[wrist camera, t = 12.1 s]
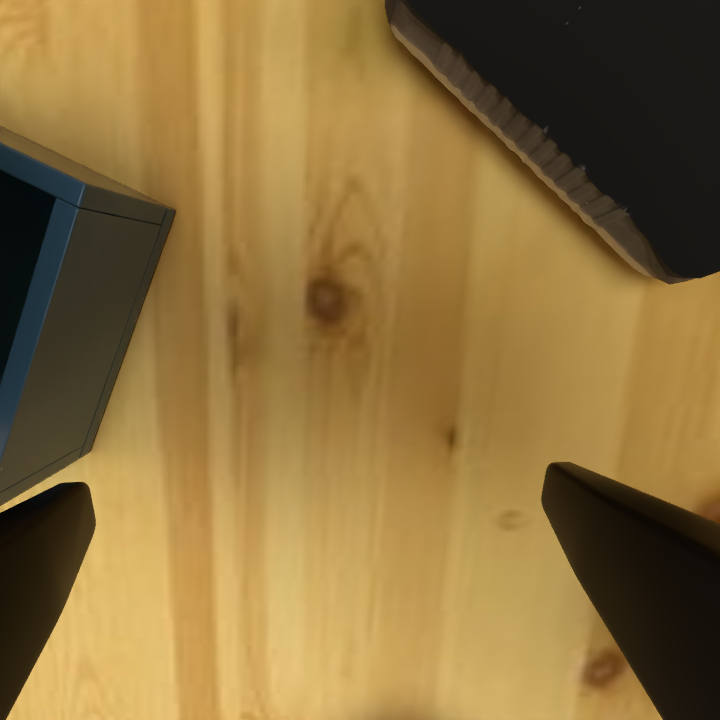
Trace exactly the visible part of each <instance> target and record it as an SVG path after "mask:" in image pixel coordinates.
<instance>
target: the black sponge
mask: <svg viewBox="0 0 720 720" xmlns="http://www.w3.org/2000/svg"><path fill="white" fill-rule="evenodd" d="M385 9H386V14H387V18H388V22H389V25H390V27H391V29H392V32H393V34H394V36H395V38H397V39H398V40H399V41H400V42H402V43H403V44H404V45H405V46H406V48H407V49H408V50H409V52H410V53H412V54H413V55H414V56H415V57H416V58H417V59H418V60H420V61H421V62H422V63H423V64H424V65H425V66H426V67H427V68H428V69H429V70H430V71H431V72H432V74H433V75H434V76H435V77H436V78H437V79H438V80H439V81H440V82H441V83H442V84H443V85H444V86H445V87H446V88H447V89H448V90H449V91H450V92H452V93H453V94H454V95H455V96H456V97H457V98H458V99H459V100H460V102H461V103H462V104H463V105H465V106H466V107H467V108H468V109H469V111H470V112H472V113H473V114H475V115H476V116H477V117H478V118H479V119H480V120H481V122H482V123H483V124H484V125H486V126H487V127H488V128H489V129H491V130H492V131H493V132H494V133H495V134H496V135H497V137H498V138H499V139H501V140H502V141H504V143H505V144H506V145H507V147H508V148H509V149H510V150H511V151H513V152H515V153H516V154H517V155H518V156H519V157H520V158H521V160H522V162H523V163H525V164H527V165H528V166H529V167H530V168H531V169H532V170H533V172H534V173H535V175H537V176H538V177H539V178H540V179H541V180H542V181H543V182H544V183H545V184H546V185H547V186H548V187H549V188H551V189H552V190H553V191H555V192H556V193H557V194H558V196H559V198H561V199H562V200H563V201H564V202H566V203H567V204H568V205H569V206H570V207H571V209H572V211H574V212H576V213H577V214H578V215H579V216H580V217H581V218H582V220H583V222H584V223H586V224H588V225H589V226H591V227H592V228H594V229H595V231H596V232H597V233H598V234H599V235H600V236H601V237H602V238H603V239H604V240H605V241H606V242H607V243H608V244H609V245H610V246H611V247H612V248H613V249H614V250H615V251H616V252H617V254H618V255H619V256H621V257H622V258H623V259H624V260H625V261H626V262H627V263H628V264H629V265H630V266H631V267H633V268H634V269H635V270H637V271H638V272H640V273H641V274H643V275H644V276H649V277H653V278H656V279H659V280H661V281H664V282H666V283H668V284H675V283H679V282H684V281H688V280H691V279H694V278H702V277H705V276H708V275H711V274H713V273H716V272H719V271H720V0H385Z"/></svg>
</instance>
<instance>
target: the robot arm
mask: <svg viewBox="0 0 720 720" xmlns="http://www.w3.org/2000/svg"><path fill="white" fill-rule="evenodd" d="M541 500H542V506H543V509H544V511H545V513H546V515H547V517H548V519H549V522H550V524H551V526H552V528H553V530H554V532H555V534H556V536H557V538H558V540H559V542H560V544H561V547H562V549H563V551H564V553H565V555H566V557H567V559H568V561H569V563H570V565H571V567H572V569H573V571H574V573H575V575H576V577H577V578H578V580H579V582H580V583H581V585H582V587H583V589H584V590H585V592H586V594H587V595H588V597H589V599H590V600H591V602H592V603H593V605H594V607H595V608H596V610H597V612H598V613H599V615H600V617H601V618H602V620H603V622H604V623H605V625H606V627H607V628H608V630H609V632H610V633H611V635H612V636H613V638H614V640H615V641H616V643H617V645H618V646H619V648H620V650H621V651H622V653H623V655H624V656H625V658H626V660H627V661H628V663H629V665H630V666H631V668H632V669H633V671H634V673H635V674H636V676H637V678H638V679H639V681H640V683H641V684H642V686H643V688H644V689H645V691H646V693H647V694H648V696H649V698H650V699H651V701H652V702H653V704H654V706H655V707H656V709H657V711H658V712H659V714H660V716H661V717H662V719H663V720H720V524H719V523H717V522H714V521H712V520H709V519H707V518H705V517H702V516H700V515H697V514H695V513H692V512H690V511H688V510H685V509H683V508H680V507H678V506H675V505H673V504H671V503H668V502H666V501H663V500H661V499H658V498H656V497H654V496H651V495H649V494H646V493H644V492H641V491H639V490H637V489H634V488H632V487H629V486H627V485H624V484H622V483H620V482H617V481H615V480H612V479H610V478H607V477H605V476H602V475H600V474H598V473H595V472H593V471H590V470H588V469H585V468H583V467H581V466H578V465H576V464H573V463H571V462H554V463H551V464H549V465H548V467H547V469H546V474H545V480H544V485H543V491H542V497H541ZM95 526H96V519H95V513H94V508H93V503H92V498H91V493H90V489H89V486H88V485H87V484H86V483H84V482H69V483H60V484H58V485H56V486H54V487H52V488H50V489H48V490H46V491H44V492H42V493H40V494H38V495H36V496H34V497H32V498H30V499H28V500H26V501H23V502H21V503H19V504H17V505H15V506H13V507H11V508H9V509H7V510H5V511H3V512H1V513H0V720H6V719H7V717H8V715H9V713H10V711H11V709H12V707H13V705H14V703H15V701H16V700H17V698H18V696H19V694H20V692H21V690H22V688H23V686H24V684H25V682H26V681H27V679H28V677H29V675H30V673H31V671H32V669H33V667H34V665H35V663H36V661H37V660H38V658H39V656H40V654H41V652H42V650H43V648H44V646H45V644H46V642H47V640H48V639H49V637H50V635H51V633H52V631H53V629H54V627H55V625H56V623H57V621H58V619H59V617H60V615H61V613H62V611H63V608H64V606H65V604H66V602H67V599H68V597H69V594H70V592H71V589H72V587H73V584H74V582H75V579H76V577H77V574H78V572H79V569H80V567H81V564H82V562H83V559H84V557H85V554H86V552H87V549H88V547H89V544H90V542H91V539H92V537H93V534H94V531H95Z"/></svg>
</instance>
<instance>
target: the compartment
mask: <svg viewBox="0 0 720 720" xmlns="http://www.w3.org/2000/svg"><path fill="white" fill-rule="evenodd" d="M174 214H175V210H174V209H173V208H171V207H168V206H166V205H164V204H162V203H160V202H158V201H156V200H154V199H152V198H150V197H148V196H146V195H143V194H141V193H139V192H137V191H135V190H133V189H131V188H129V187H127V186H125V185H123V184H121V183H118V182H116V181H114V180H112V179H110V178H108V177H106V176H104V175H102V174H100V173H98V172H96V171H93V170H91V169H89V168H87V167H85V166H83V165H81V164H79V163H77V162H75V161H73V160H71V159H68V158H66V157H64V156H62V155H60V154H58V153H56V152H54V151H52V150H50V149H48V148H46V147H43V146H41V145H39V144H37V143H35V142H33V141H31V140H29V139H27V138H25V137H23V136H21V135H18V134H16V133H14V132H12V131H10V130H8V129H6V128H4V127H2V126H0V506H1V505H3V504H5V503H6V502H8V501H10V500H11V499H13V498H15V497H16V496H18V495H20V494H21V493H23V492H25V491H26V490H28V489H30V488H31V487H33V486H35V485H37V484H38V483H40V482H42V481H43V480H45V479H47V478H48V477H50V476H52V475H53V474H55V473H57V472H58V471H60V470H62V469H63V468H65V467H67V466H68V465H70V464H72V463H73V462H75V461H77V460H78V459H80V458H81V457H83V456H85V455H86V454H88V453H89V452H90V449H91V446H92V444H93V441H94V438H95V435H96V433H97V430H98V427H99V424H100V421H101V419H102V416H103V413H104V410H105V407H106V405H107V402H108V399H109V396H110V393H111V391H112V388H113V385H114V382H115V379H116V377H117V374H118V371H119V368H120V365H121V363H122V360H123V357H124V354H125V351H126V349H127V346H128V343H129V340H130V337H131V335H132V332H133V329H134V326H135V323H136V321H137V318H138V315H139V312H140V309H141V307H142V304H143V301H144V298H145V295H146V293H147V290H148V287H149V284H150V282H151V279H152V276H153V273H154V270H155V268H156V265H157V262H158V259H159V256H160V254H161V251H162V248H163V245H164V242H165V240H166V237H167V234H168V231H169V228H170V226H171V223H172V220H173V217H174Z"/></svg>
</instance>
